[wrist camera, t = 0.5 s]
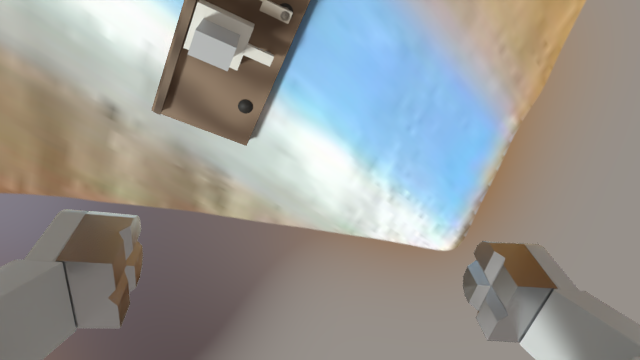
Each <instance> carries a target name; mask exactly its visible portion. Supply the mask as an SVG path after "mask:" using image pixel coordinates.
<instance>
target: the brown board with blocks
mask: <svg viewBox="0 0 640 360" xmlns="http://www.w3.org/2000/svg"><path fill="white" fill-rule="evenodd" d="M198 1H199V0H184V3H183V6H182V10H181V13H180V16H179V20H178V23H177V26H176V30H175V33H174V37H173V40H172V43H171V47H170V50H169V53H168V57H167V60H166V63H165V67H164V70H163V73H162V77H161V80H160V83H159V87H158V90H157V93H156V97H155V100H154V103H153V107H152V111H154V112H155V113H157V114H163V115H165V116H168V117H171V118H173V119H176V120H179V121H182V122H184V123H187V124H190V125H192V126H195V127H198V128H200V129H203V130H206V131H208V132H211V133H214V134H216V135H219V136H222V137H224V138H227V139H230V140H232V141H235V142H238V143H240V144H243V145H247V143H248V141H249V139H250V136H251V134H252V132H253V129H254V127H255V125H256V123H257V120H258V118H259V116H260V114H261V111H262V109H263V107H264V104H265V102H266V100H267V98H268V95H269V93H270V91H271V89H272V86H273V84H274V82H275V79H276V77H277V75H278V73H279V70H280V68H281V66H282V64H283V61H284V59H285V57H286V54H287V52H288V50H289V48H290V45H291V43H292V41H293V39H294V36H295V34H296V32H297V29H298V27H299V25H300V23H301V20H302V18H303V16H304V14H305V11H306V9H307V7H308V4H309V2H310V0H205V1H207V2H209V3H211V4H213V5H215V6H218V7H220V8H222V9H224V10H226V11H228V12H230V13H232V14H235V15H237V16H239V17H241V18H243V19H245V20H247V21H250V22H252V23H254V24H255V25H254V29H253V31H252V34H251V37H250V39H249V42H248V43H249V44H251V45H254V46H256V47H258V48H260V49H262V50H265V51H270V52H271V54H273V55H274V58H273V61H272V63H271V65H270V67H269V66H267V65H265V64H262V63H260V62H258V61H256V60H253V59H251V58H249V57H247V56H244V55H243V57H242V60H241V62H240V65H239V67H238V70H234V69H232V68H230V67H229V69H228V71H225V70H223V69H221V68H218V67H216V66H214V65H211V64H209V63H207V62H204V61H202V60H200V59H197V58H195V57H192V56H190V55H188V51H189V50H187V49H185V48H183V47H184V44H185V41H186V38H187V34H188V31H189V28H190V25H191V22H192V18H193V15H194V12H195V9H196V6H197V3H198Z"/></svg>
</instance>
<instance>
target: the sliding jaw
mask: <svg viewBox="0 0 640 360" xmlns="http://www.w3.org/2000/svg"><path fill="white" fill-rule="evenodd" d="M254 25H255V24H254V23H252V22H250V21H247V20H245V19H243V18H241V17H239V16H237V15H235V14H232V13H230V12H228V11H226V10H224V9H222V8H220V7H218V6H215V5H213V4H211V3H209V2H207V1H205V0H199V1H198V3H197V6H196V9H195V12H194V15H193V18H192V22H191V25H190V28H189V31H188V34H187V38H186V41H185V44H184V47H183V48H185V49H187V50H189V51H188V55H190V56H192V57H195V58H197V59H200V60H202V61H204V62H207V63H209V64H211V65H214V66H216V67H218V68H221V69H223V70H225V71H228V69H229V67H230V68H232V69H234V70H238V67H239V65H240V62H241V60H242V57H243V55H244V56H247V57H249V58H251V59H253V60H256V61H258V62H260V63H262V64H265V65H267V66H269V67H270V65H271V63H272V61H273V58H274V55H273V54H271V52H270V51H265V50H262V49H260V48H258V47H256V46H254V45H251V44H249V43H248V42H249V39H250V37H251V34H252V31H253V29H254Z"/></svg>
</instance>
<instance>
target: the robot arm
mask: <svg viewBox="0 0 640 360" xmlns="http://www.w3.org/2000/svg"><path fill="white" fill-rule="evenodd" d="M140 232H141V224H140V218H139V217H138V216H137V215H126V214H116V213H104V212H95V211H90V212H89V211H81V210H69V209H65V210H63V211H60V212H59V213H58V214H57V216H56V217H55V218H54V220H53V221H52V223H51V224H50V225H49V227H48V228H47V229H46V231H45V232H44V233H43V235H42V236H41V237H40V239H39V240H38V241H37V243H36V244H35V245H34V247H33V248H32V249H31V251H30V252H29V253H28V255H27V256H26V258H25V259H24V260H14V261H12V262H10V263H8V264H6V265H4V266H2V267H0V360H43V359H44V358H45V357H46V356H47V355H48V354H50V353H51V352H52V351H53V350H54V349H55V348H56V347H58V346H59V345H60V344H61V343H62V342H64V341H65V340H66V339H67V338H68V337H69V336H71V335H72V334H73V333H74V332H75V331H76V328H121V326H122V323H123V321H124V318H125V315H126V313H127V310H128V308H129V305H130V297H129V292H131V291H132V290H133V289H135V288H136V287H137V284H138V281H139V278H140V274H141V269H142V262H143V248H142V245H141V244H140V243H139V242H138V241H137V239H138V237H139V235H140ZM474 255H475V258H476V261H474V262H473V263H472V264H470V265H469V266H467V269H466V271H465V274H464V276H463V289H464V293H465V297H466V299H467V301H468V303H469V304H470V305H471V306H473V307H474V308H475V309H476V310H478V312H477V316H476V319H477V321H478V323H479V325H480V327H481V329H482V331H483V333H484V335H485V337H486V339H487V340H488V341H504V342H520V345H521V346H522V347H523V348H524V349H525V350H526V351H527V352H528V353H529V354H530V355H531V356H532V357H534V358H535V359H536V360H640V325H639V324H638V323H636V322H635V321H633V320H631V319H630V318H628V317H626V316H625V315H623V314H622V313H620V312H618V311H617V310H615V309H613V308H612V307H610V306H609V305H607V304H605V303H604V302H602V301H600V300H599V299H597V298H596V297H594V296H592V295H591V294H589V293H588V292H586V291H579V290H578V288H577V287H576V286H575V285H574V284H573V282H572V281H571V280H570V278H569V277H568V276H567V275H566V274H565V272H564V271H563V270H562V269H561V268H560V266H559V265H558V264H557V263H556V261H555V260H554V259H553V258H552V256H551V255H550V254H549V253H548V252H547V250H546V249H545V248H544V247H542V246H541V245H539V244H528V243H519V244H516V243H502V242H486V241H482V242H481V243H480V244H479V245H477V247H476V250H475V252H474Z"/></svg>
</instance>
